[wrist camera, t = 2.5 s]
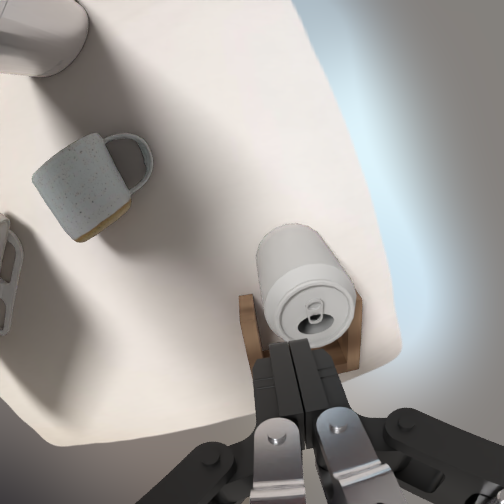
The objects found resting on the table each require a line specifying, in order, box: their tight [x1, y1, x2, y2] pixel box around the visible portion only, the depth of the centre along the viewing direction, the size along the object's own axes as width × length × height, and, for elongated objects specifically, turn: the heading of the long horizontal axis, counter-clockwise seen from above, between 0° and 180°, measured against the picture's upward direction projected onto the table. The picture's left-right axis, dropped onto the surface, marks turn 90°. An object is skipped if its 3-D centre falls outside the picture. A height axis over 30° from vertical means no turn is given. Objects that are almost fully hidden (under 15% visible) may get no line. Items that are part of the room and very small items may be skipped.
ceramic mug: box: [32, 133, 153, 242], centre depth 26 cm, size 11×8×8 cm
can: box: [256, 223, 357, 348], centre depth 29 cm, size 8×8×12 cm
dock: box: [239, 289, 362, 378], centre depth 36 cm, size 10×12×5 cm
